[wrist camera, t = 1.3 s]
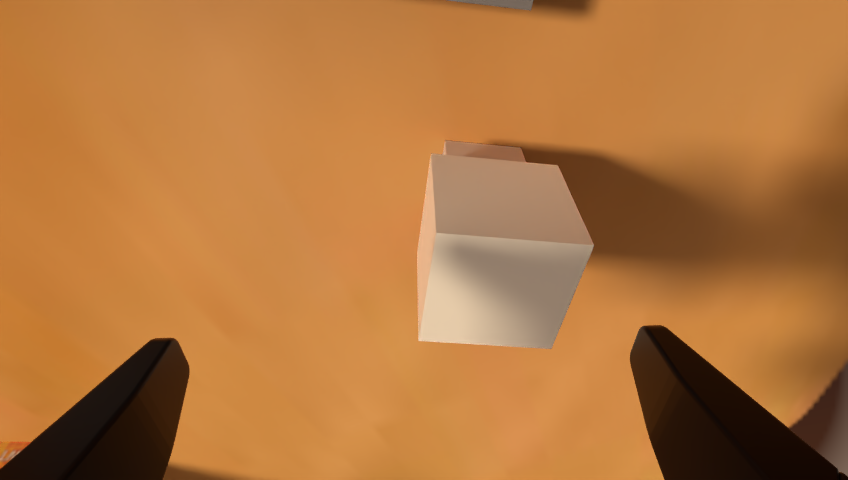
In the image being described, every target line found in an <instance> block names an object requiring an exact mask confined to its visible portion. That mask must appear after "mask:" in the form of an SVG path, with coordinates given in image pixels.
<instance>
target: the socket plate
mask: <svg viewBox="0 0 848 480" xmlns="http://www.w3.org/2000/svg"><path fill="white" fill-rule="evenodd" d="M448 1H457V2H465V3H473V4H482V5H490V6H498V7H507V8H515V9H523V10H531V8H532V4H533V0H448Z"/></svg>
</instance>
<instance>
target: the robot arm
mask: <svg viewBox="0 0 848 480" xmlns="http://www.w3.org/2000/svg"><path fill="white" fill-rule="evenodd" d="M630 363H631V368H632V372H633V376H634V380H635V384H636V388H637V392H638V396H639V400H640V404H641V408H642V412H643V416H644V420H645V424H646V428H647V431H648V435H649V438H650V441H651V444H652V447H653V450H654V452H655V455H656V458H657V460H658V463H659V466H660V469H661V471H662V474H663V477H664V479H665V480H848V477H847V476H846V475H845V474H844V473H842V472H838V469H837V468H836V467H835V466H834V465H833V464H831V463H830V462H829V461H828V460H826V459H825V458H824V457H823V456H822V455H820V454H819V453H818V452H817V451H816V450H814V449H813V448H812V447H811V446H810V445H808V444H807V443H806V442H805V441H803V440H802V439H801V438H800V437H799V436H797V435H796V434H795V433H794V432H793V431H791V430H790V429H789V428H788V427H786V426H785V425H784V424H783V423H782V422H780V421H779V420H778V419H777V418H776V417H774V416H773V415H772V414H771V413H769V412H768V411H767V410H766V409H765V408H763V407H762V406H761V405H760V404H759V403H757V402H756V401H755V400H754V399H752V398H751V397H750V396H749V395H748V394H746V393H745V392H744V391H743V390H742V389H740V388H739V387H738V386H737V385H735V384H734V383H733V382H732V381H731V380H729V379H728V378H727V377H726V376H725V375H723V374H722V373H721V372H720V371H718V370H717V369H716V368H715V367H714V366H712V365H711V364H710V363H709V362H707V361H706V360H705V359H704V358H703V357H701V356H700V355H699V354H698V353H697V352H695V351H694V350H693V349H692V348H690V347H689V346H688V345H687V344H686V343H684V342H683V341H682V340H681V339H680V338H678V337H677V336H676V335H675V334H673V333H672V332H671V331H670V330H669V329H667V328H666V327H664V326H661V325H652V326H642V327H641V328H640V329H639V331H638V334H637V337H636V339H635V342H634V345H633V347H632V350H631V353H630ZM188 379H189V365H188V362H187V360H186V358H185V356H184V353H183V351H182V349H181V347H180V345H179V343H178V341H177V340H176V339H174V338H155V339H152V340H150V341H149V342H148V343H146V344H145V345H144V346H143V347H142V348H141V349H139V350H138V351H137V352H136V353H135V354H134V355H132V356H131V357H130V358H129V359H128V360H127V361H125V362H124V363H123V364H122V365H121V366H120V367H118V368H117V369H116V370H115V371H114V372H113V373H111V374H110V375H109V376H108V377H107V378H106V379H104V380H103V381H102V382H101V383H100V384H99V385H97V386H96V387H95V388H94V389H93V390H92V391H90V392H89V393H88V394H87V395H86V396H85V397H83V398H82V399H81V400H80V401H79V402H78V403H76V404H75V405H74V406H73V407H72V408H71V409H69V410H68V411H67V412H66V413H65V414H64V415H62V416H61V417H60V418H59V419H58V420H57V421H55V422H54V423H53V424H52V425H51V426H49V427H48V428H47V429H46V430H45V431H44V432H42V433H41V434H40V435H39V436H38V437H37V438H35V439H34V440H33V441H32V442H31V443H30V444H28V445H27V446H26V447H25V448H24V449H23V450H21V451H20V452H19V453H18V454H17V455H16V456H14V457H13V458H12V459H11V460H10V461H9V462H7V463H6V464H5V465H4V466H3V467H2V468H0V480H163V477H164V474H165V471H166V468H167V465H168V462H169V459H170V456H171V453H172V449H173V445H174V441H175V437H176V433H177V428H178V424H179V419H180V415H181V410H182V406H183V401H184V397H185V392H186V388H187V383H188Z"/></svg>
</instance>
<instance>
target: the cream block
mask: <svg viewBox="0 0 848 480" xmlns="http://www.w3.org/2000/svg"><path fill="white" fill-rule="evenodd" d="M593 247H594V244H593V242H592V239H591V237H590V235H589V233H588V231H587V228H586V226H585V224H584V222H583V220H582V217H581V215H580V213H579V211H578V209H577V206H576V204H575V202H574V200H573V198H572V195H571V193H570V191H569V189H568V187H567V184H566V182H565V180H564V178H563V176H562V173H561V171H560V169H559V167H558V165H550V164H539V163H528V162H526V161H525V158H524V155H523V152H522V149H521V148H520V147H510V146H499V145H489V144H478V143H468V142H457V141H447V140H445V143H444V150H443V154H432V153H431V158H430V165H429V172H428V179H427V186H426V193H425V201H424V208H423V215H422V222H421V229H420V237H419V244H418V251H417V275H418V341H429V342H446V343H462V344H479V345H495V346H512V347H528V348H545V349H551V348H552V346H553V343H554V341H555V339H556V336H557V334H558V331H559V329H560V327H561V324H562V322H563V319H564V317H565V315H566V312H567V310H568V307H569V305H570V303H571V300H572V298H573V295H574V293H575V291H576V288H577V286H578V283H579V281H580V279H581V276H582V274H583V271H584V269H585V266H586V264H587V262H588V259H589V257H590V254H591V252H592V250H593Z"/></svg>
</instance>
